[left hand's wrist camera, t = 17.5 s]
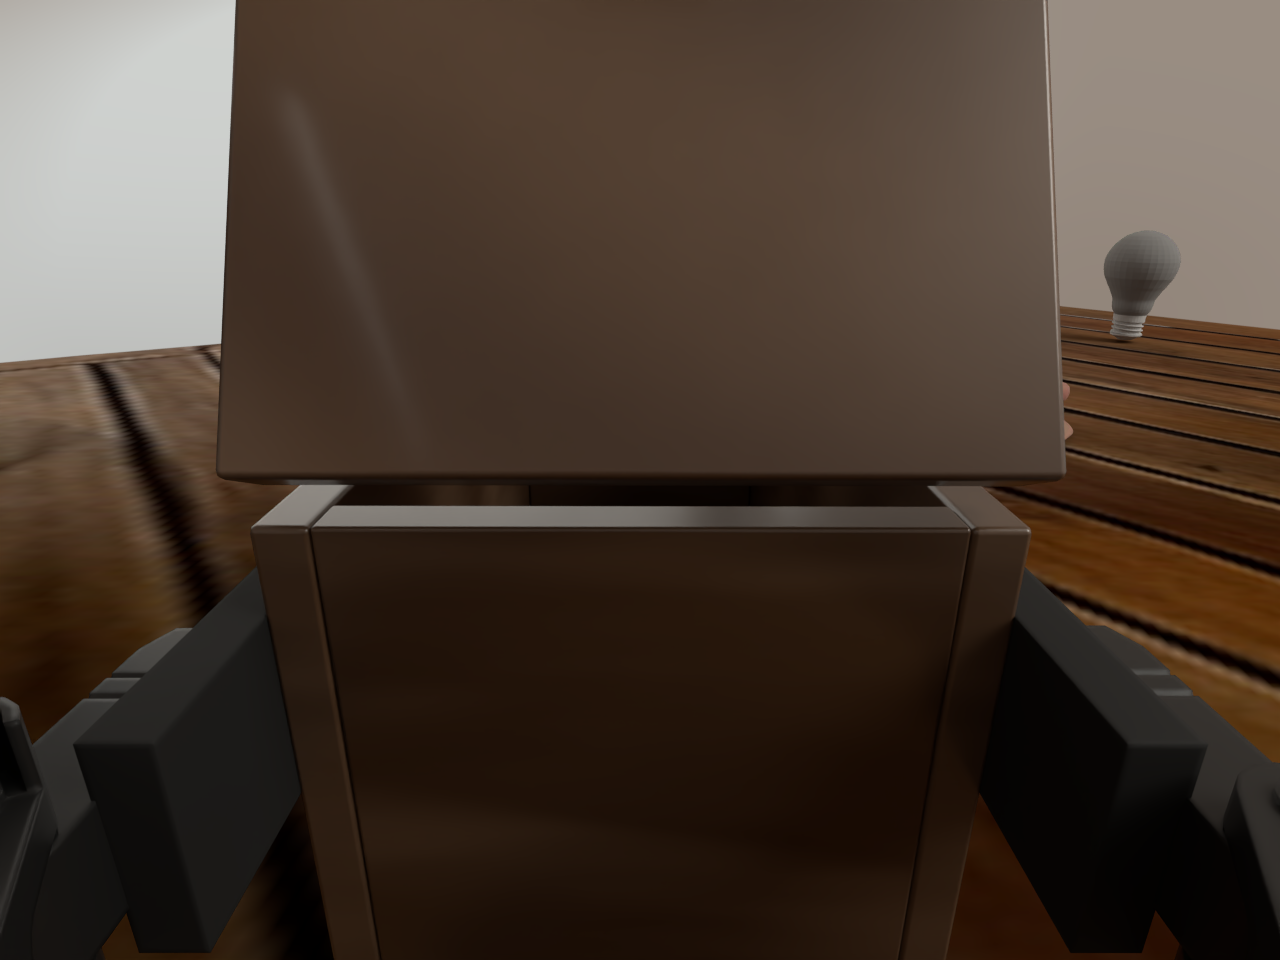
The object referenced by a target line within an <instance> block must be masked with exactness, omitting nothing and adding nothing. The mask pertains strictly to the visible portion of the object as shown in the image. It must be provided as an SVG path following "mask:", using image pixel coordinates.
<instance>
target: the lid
mask: <svg viewBox="0 0 1280 960" xmlns="http://www.w3.org/2000/svg"><path fill="white" fill-rule="evenodd" d="M216 472H217V476H218V477H220V478H222V479H225V480H231V481H238V482H245V483H253V484H260V485H599V486H1024V485H1032V484H1039V483H1047V482H1055V481H1058V480H1061V479H1063V478H1064V477H1065V474H1066V458H1065V432H1064V407H1063V381H1062V356H1061V331H1060V305H1059V280H1058V255H1057V230H1056V205H1055V179H1054V153H1053V128H1052V103H1051V78H1050V52H1049V27H1048V1H1047V0H236V10H235V34H234V57H233V81H232V105H231V127H230V151H229V175H228V198H227V222H226V245H225V268H224V292H223V315H222V339H221V362H220V386H219V409H218V433H217V456H216Z"/></svg>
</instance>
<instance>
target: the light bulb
mask: <svg viewBox="0 0 1280 960" xmlns="http://www.w3.org/2000/svg"><path fill="white" fill-rule="evenodd" d="M1180 263H1181V257H1180V252H1179V249H1178V247H1177V245H1176V244H1175V243H1174V241H1173V240H1172V239H1171V238H1170V237H1168V236H1167V235H1165V234H1163V233H1160V232H1156V231H1140V232H1136V233H1133V234H1130V235H1127V236H1126V237H1124V238H1122V239H1121V240H1120V241H1119V242H1117V243H1116V244H1115V245H1114V246H1113V247H1112V249H1111V250H1110V251H1109V253H1108V254H1107V256H1106V259H1105V263H1104V275H1105V278H1106V281H1107V284H1108V286H1109V288H1110V291H1111V294H1112V309H1113V311H1114V314H1113V315H1114V316H1113V320H1115V321H1112V323H1114V325H1112V326H1111V327H1112V328H1113V329H1111V330H1110V334H1112V335H1113V336H1115V337H1116V338H1117V339H1121V340H1132V339H1135V338H1137V337H1140V336H1142V333H1140V331H1143V330H1141V327H1144V326H1142V323H1144V322H1145V318H1146V316H1147V314H1148V313H1149V312H1150V311H1151V309H1152V307H1153V304H1154V302H1155V300H1156V298H1157V297H1158V296H1159V295H1160V294H1161V292H1162V291H1163V290H1164V289H1165V288H1166V287H1167V286H1168V285H1169V283H1170V282H1171V281H1172V280H1173V279H1174V277H1175V276H1176V274H1177V272H1178V270H1179V267H1180Z"/></svg>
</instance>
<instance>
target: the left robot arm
mask: <svg viewBox="0 0 1280 960" xmlns="http://www.w3.org/2000/svg"><path fill="white" fill-rule="evenodd" d="M89 695H90V696H89V698H88V699H83V700H82V701H81V702H79V703H78V704H77V705H76V706H75V707H74V708H73V709H72V710H71V711H70V712H68V713H67V714H66V715H65V716H64V717H63V718H62V719H61V720H60V721H58V722H57V723H56V724H55V725H54V726H53V727H52V728H51V729H50V730H48V731H47V732H46V733H45V734H44V735H43V736H42V737H41V738H40V739H39V740H37V741H36V742H35V743H34V744H33V745H32V744H31V741H30V738H29V735H28V732H27V729H26V726H25V723H24V720H23V717H22V714H21V711H20V708H19V706H18V705H17V704H15V703H14V702H12V701H10V700H9V699H7V698H5V697H0V960H105V957H104V954H103V951H102V948H101V947H102V946H103V945H104V943H105V942H106V940H107V939H108V938H109V936H110V935H111V933H112V932H113V931H114V929H115V928H116V926H117V925H118V924H119V922H120V921H121V919H122V918H123V917H124V915H125V914H126V913H127V916H128V919H129V922H130V925H131V928H132V932H133V935H134V938H135V941H136V944H137V947H138V950H139V953H210V952H211V951H212V949H213V947H214V945H215V944H216V942H217V940H218V938H219V937H220V935H221V933H222V931H223V929H224V928H225V926H226V924H227V922H228V921H229V919H230V917H231V915H232V914H233V912H234V910H235V908H236V907H237V905H238V903H239V901H240V900H241V898H242V896H243V894H244V892H245V891H246V889H247V887H248V885H249V884H250V882H251V880H252V878H253V877H254V875H255V873H256V871H257V870H258V868H259V866H260V864H261V863H262V861H263V859H264V857H265V855H266V854H267V852H268V850H269V848H270V847H271V845H272V843H273V841H274V840H275V838H276V836H277V834H278V833H279V831H280V829H281V827H282V826H283V824H284V822H285V820H286V819H287V817H288V815H289V813H290V811H291V810H292V808H293V806H294V804H295V803H296V801H297V799H298V797H299V796H300V794H301V788H300V783H299V778H298V773H297V768H296V763H295V758H294V753H293V748H292V743H291V738H290V733H289V728H288V723H287V718H286V712H285V707H284V702H283V697H282V692H281V687H280V682H279V677H278V672H277V667H276V662H275V656H274V651H273V646H272V641H271V636H270V631H269V626H268V621H267V616H266V611H265V606H264V600H263V595H262V590H261V585H260V580H259V575H258V570H257V567H256V568H254V569H253V570H252V571H251V572H250V573H249V574H248V575H247V576H246V577H245V578H244V579H243V580H242V581H241V582H240V583H239V584H238V585H237V586H236V587H235V588H234V589H233V590H232V591H231V592H230V593H229V594H228V595H227V596H225V597H224V598H223V599H222V600H221V601H220V602H219V603H218V604H217V605H216V606H215V607H214V608H213V609H212V610H211V611H210V612H209V613H208V614H207V615H206V616H205V617H204V618H203V619H202V620H201V621H200V622H199V623H198V624H196V625H195V626H194V627H193V628H176V629H174V630H172V631H171V632H169V633H167V634H165V635H163V636H161V637H160V638H158V639H156V640H154V641H152V642H150V643H149V644H147V645H145V646H143V647H141V648H140V649H138V650H137V651H136V652H135V653H134V654H133V655H132V656H130V657H129V658H128V659H127V660H126V661H125V662H124V663H123V664H122V665H120V666H119V667H118V668H117V669H116V670H115V671H114V672H113V673H112V677H111V678H106V679H105V680H104V681H103V682H102V683H101V684H99V685H98V686H97V687H96V688H95V689H94V690H93V691H92V692H91V693H89ZM979 792H980V794H981V796H982V798H983V799H984V801H985V803H986V805H987V806H988V808H989V810H990V812H991V814H992V815H993V817H994V819H995V821H996V822H997V824H998V826H999V828H1000V829H1001V831H1002V833H1003V835H1004V836H1005V838H1006V840H1007V842H1008V843H1009V845H1010V847H1011V849H1012V851H1013V852H1014V854H1015V856H1016V858H1017V859H1018V861H1019V863H1020V865H1021V866H1022V868H1023V870H1024V872H1025V873H1026V875H1027V877H1028V879H1029V880H1030V882H1031V884H1032V886H1033V887H1034V889H1035V891H1036V893H1037V895H1038V896H1039V898H1040V900H1041V902H1042V903H1043V905H1044V907H1045V909H1046V910H1047V912H1048V914H1049V916H1050V917H1051V919H1052V921H1053V923H1054V924H1055V926H1056V928H1057V930H1058V931H1059V933H1060V935H1061V937H1062V939H1063V940H1064V942H1065V944H1066V946H1067V947H1068V949H1069V951H1070V953H1142V950H1143V947H1144V944H1145V941H1146V938H1147V935H1148V932H1149V929H1150V925H1151V922H1152V919H1153V916H1154V913H1155V910H1156V911H1157V913H1158V914H1159V915H1160V917H1161V918H1162V920H1163V921H1164V922H1165V924H1166V925H1167V927H1168V928H1169V929H1170V931H1171V932H1172V933H1173V935H1174V936H1175V938H1176V939H1177V940H1178V942H1179V943H1180V945H1179V948H1178V951H1177V954H1176V957H1175V960H1280V763H1275V762H1273V763H1272V762H1271V761H1270V760H1269V759H1268V758H1267V757H1266V756H1265V755H1264V754H1262V753H1261V752H1260V751H1259V750H1258V749H1257V748H1256V747H1255V746H1254V745H1252V744H1251V743H1250V742H1249V741H1248V740H1247V739H1246V738H1245V737H1243V736H1242V735H1241V734H1240V733H1239V732H1238V731H1237V730H1236V729H1235V728H1233V727H1232V726H1231V725H1230V724H1229V723H1228V722H1227V721H1226V720H1225V719H1223V718H1222V717H1221V716H1220V715H1219V714H1218V713H1217V712H1216V711H1214V710H1213V709H1212V708H1211V707H1210V706H1209V705H1208V704H1207V703H1206V702H1204V701H1203V700H1202V699H1201V698H1200V697H1199V696H1193V693H1192V690H1191V689H1190V688H1189V687H1188V686H1187V685H1185V684H1184V683H1183V682H1182V681H1181V680H1180V679H1179V678H1178V677H1177V676H1175V675H1170V670H1169V669H1168V668H1166V667H1165V666H1164V665H1163V664H1162V663H1161V662H1160V661H1159V660H1158V659H1156V658H1155V657H1154V656H1153V655H1152V654H1151V653H1150V652H1149V651H1148V650H1146V649H1145V648H1144V647H1143V646H1141V645H1140V644H1138V643H1136V642H1134V641H1132V640H1130V639H1128V638H1127V637H1125V636H1123V635H1121V634H1119V633H1117V632H1116V631H1114V630H1112V629H1110V628H1108V627H1106V626H1085V625H1084V624H1083V623H1082V622H1081V621H1080V620H1079V619H1078V618H1077V617H1076V616H1075V615H1074V614H1073V613H1072V612H1071V611H1070V610H1069V609H1068V608H1067V607H1066V606H1065V605H1064V604H1063V603H1062V602H1061V601H1060V600H1059V599H1057V598H1056V597H1055V596H1054V595H1053V594H1052V593H1051V592H1050V591H1049V590H1048V589H1047V588H1046V587H1045V586H1044V585H1043V584H1042V583H1041V582H1040V581H1039V580H1038V579H1037V578H1036V577H1035V576H1034V575H1033V574H1032V573H1031V572H1030V571H1028V570H1027V569H1026V568H1025V569H1024V574H1023V578H1022V583H1021V588H1020V593H1019V598H1018V603H1017V608H1016V613H1015V617H1014V621H1013V626H1012V631H1011V636H1010V641H1009V646H1008V651H1007V656H1006V661H1005V666H1004V671H1003V676H1002V681H1001V686H1000V691H999V696H998V701H997V706H996V711H995V716H994V721H993V726H992V731H991V736H990V741H989V746H988V751H987V756H986V761H985V766H984V771H983V776H982V781H981V786H980V791H979Z"/></svg>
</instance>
